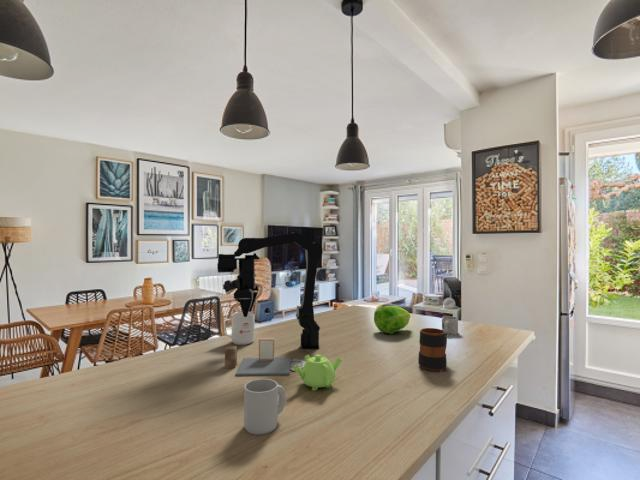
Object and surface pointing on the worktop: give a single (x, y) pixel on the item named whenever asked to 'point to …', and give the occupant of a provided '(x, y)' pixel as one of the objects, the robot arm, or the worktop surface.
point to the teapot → (317, 371)
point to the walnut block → (230, 356)
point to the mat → (264, 367)
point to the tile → (266, 349)
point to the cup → (262, 405)
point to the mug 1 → (241, 328)
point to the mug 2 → (432, 349)
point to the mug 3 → (450, 325)
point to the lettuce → (391, 318)
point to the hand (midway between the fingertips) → (247, 314)
